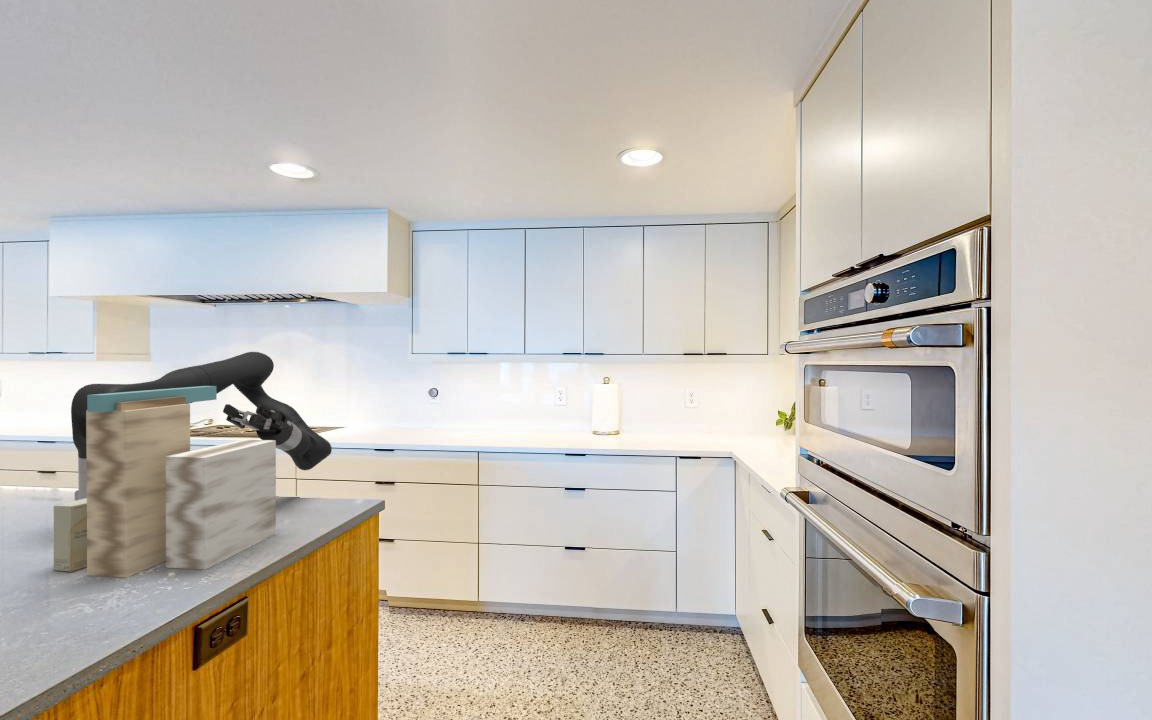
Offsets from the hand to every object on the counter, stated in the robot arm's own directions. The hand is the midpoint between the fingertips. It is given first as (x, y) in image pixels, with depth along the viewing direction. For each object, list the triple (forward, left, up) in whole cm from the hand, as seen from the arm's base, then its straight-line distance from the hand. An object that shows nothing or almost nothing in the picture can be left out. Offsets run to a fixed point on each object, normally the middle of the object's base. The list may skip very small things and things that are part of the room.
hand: (241, 408), depth 131 cm
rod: (0, -22, +3) cm, 22 cm away
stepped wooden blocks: (+5, -21, -27) cm, 35 cm away
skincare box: (-10, -29, -27) cm, 41 cm away
